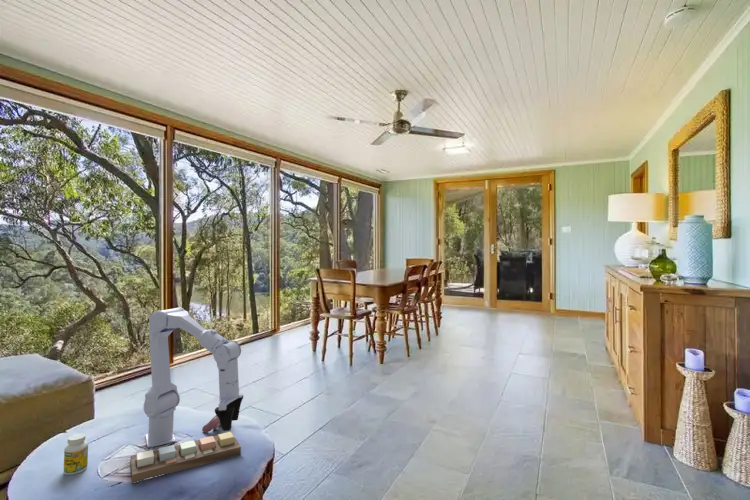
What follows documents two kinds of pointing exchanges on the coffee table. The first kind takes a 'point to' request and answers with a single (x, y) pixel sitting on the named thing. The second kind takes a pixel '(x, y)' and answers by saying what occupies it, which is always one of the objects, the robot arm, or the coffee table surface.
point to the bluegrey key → (166, 453)
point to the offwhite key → (145, 458)
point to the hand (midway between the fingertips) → (230, 425)
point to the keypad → (183, 460)
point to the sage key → (187, 448)
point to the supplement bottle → (75, 454)
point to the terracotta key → (207, 443)
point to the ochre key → (225, 439)
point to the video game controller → (212, 424)
